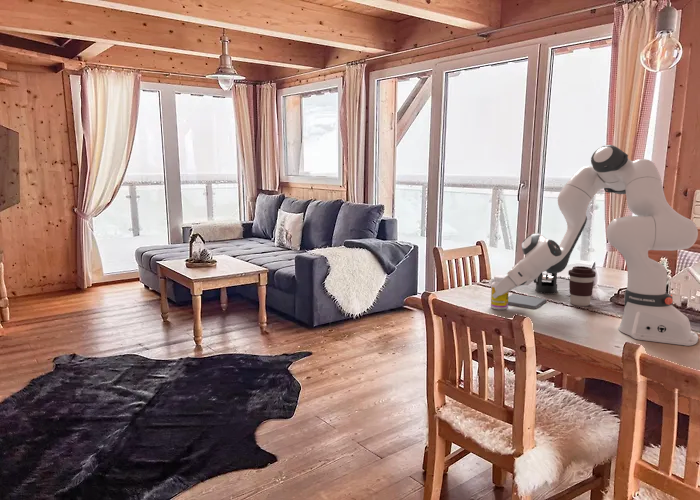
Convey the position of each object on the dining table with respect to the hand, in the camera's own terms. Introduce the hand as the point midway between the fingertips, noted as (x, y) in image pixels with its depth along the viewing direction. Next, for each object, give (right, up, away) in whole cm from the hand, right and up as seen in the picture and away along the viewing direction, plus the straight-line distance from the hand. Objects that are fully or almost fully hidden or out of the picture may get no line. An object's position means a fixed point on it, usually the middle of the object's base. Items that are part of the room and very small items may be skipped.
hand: (498, 294), depth 198 cm
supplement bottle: (+1, -6, +1) cm, 6 cm away
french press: (+29, -1, +25) cm, 38 cm away
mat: (+13, -4, +7) cm, 15 cm away
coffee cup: (+34, -4, +4) cm, 35 cm away
